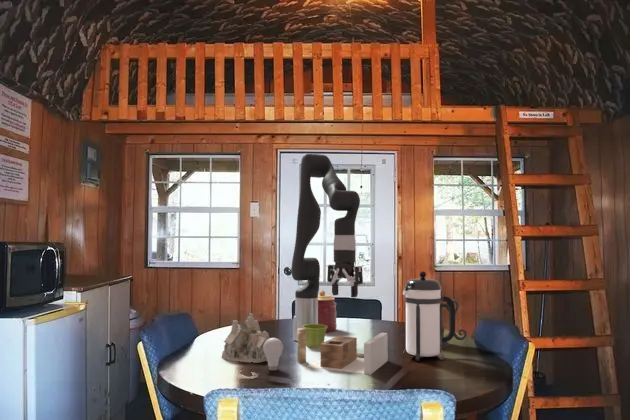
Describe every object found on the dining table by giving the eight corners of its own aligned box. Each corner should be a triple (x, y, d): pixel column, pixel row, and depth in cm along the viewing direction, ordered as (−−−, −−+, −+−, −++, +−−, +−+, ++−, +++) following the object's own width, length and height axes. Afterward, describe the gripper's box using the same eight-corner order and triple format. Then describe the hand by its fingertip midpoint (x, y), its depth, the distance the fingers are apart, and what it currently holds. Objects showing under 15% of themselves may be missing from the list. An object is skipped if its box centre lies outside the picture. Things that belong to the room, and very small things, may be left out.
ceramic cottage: (218, 354, 183) (221, 312, 183) (262, 352, 190) (265, 311, 190) (229, 368, 169) (232, 322, 169) (276, 365, 175) (279, 321, 175)
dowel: (295, 366, 167) (296, 329, 168) (299, 364, 170) (299, 328, 170) (303, 367, 166) (303, 330, 167) (307, 365, 169) (307, 328, 169)
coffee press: (440, 365, 170) (439, 273, 171) (394, 359, 178) (394, 271, 180) (455, 355, 184) (455, 270, 186) (413, 349, 193) (413, 268, 194)
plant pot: (330, 348, 195) (330, 324, 195) (322, 353, 186) (323, 329, 187) (307, 346, 198) (307, 323, 199) (298, 351, 189) (298, 327, 190)
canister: (341, 329, 233) (342, 290, 234) (327, 334, 222) (327, 292, 223) (317, 326, 240) (317, 288, 241) (302, 330, 229) (302, 290, 230)
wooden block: (357, 363, 175) (355, 357, 174) (359, 356, 177) (357, 351, 176) (385, 366, 171) (384, 360, 170) (387, 359, 173) (386, 354, 172)
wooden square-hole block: (320, 366, 162) (320, 343, 162) (337, 356, 175) (337, 335, 175) (341, 369, 159) (341, 346, 159) (356, 359, 172) (356, 337, 172)
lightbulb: (263, 371, 161) (263, 336, 162) (282, 371, 162) (282, 335, 162) (262, 377, 155) (263, 340, 156) (283, 376, 156) (283, 339, 156)
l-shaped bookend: (306, 371, 162) (306, 337, 162) (328, 358, 178) (328, 328, 179) (370, 379, 153) (370, 343, 154) (387, 365, 170) (387, 333, 170)
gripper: (322, 248, 180) (322, 295, 179) (352, 249, 170) (353, 298, 169) (336, 248, 185) (336, 293, 184) (367, 248, 175) (367, 297, 174)
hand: (344, 296), depth 176 cm, fingers open, 8 cm apart
